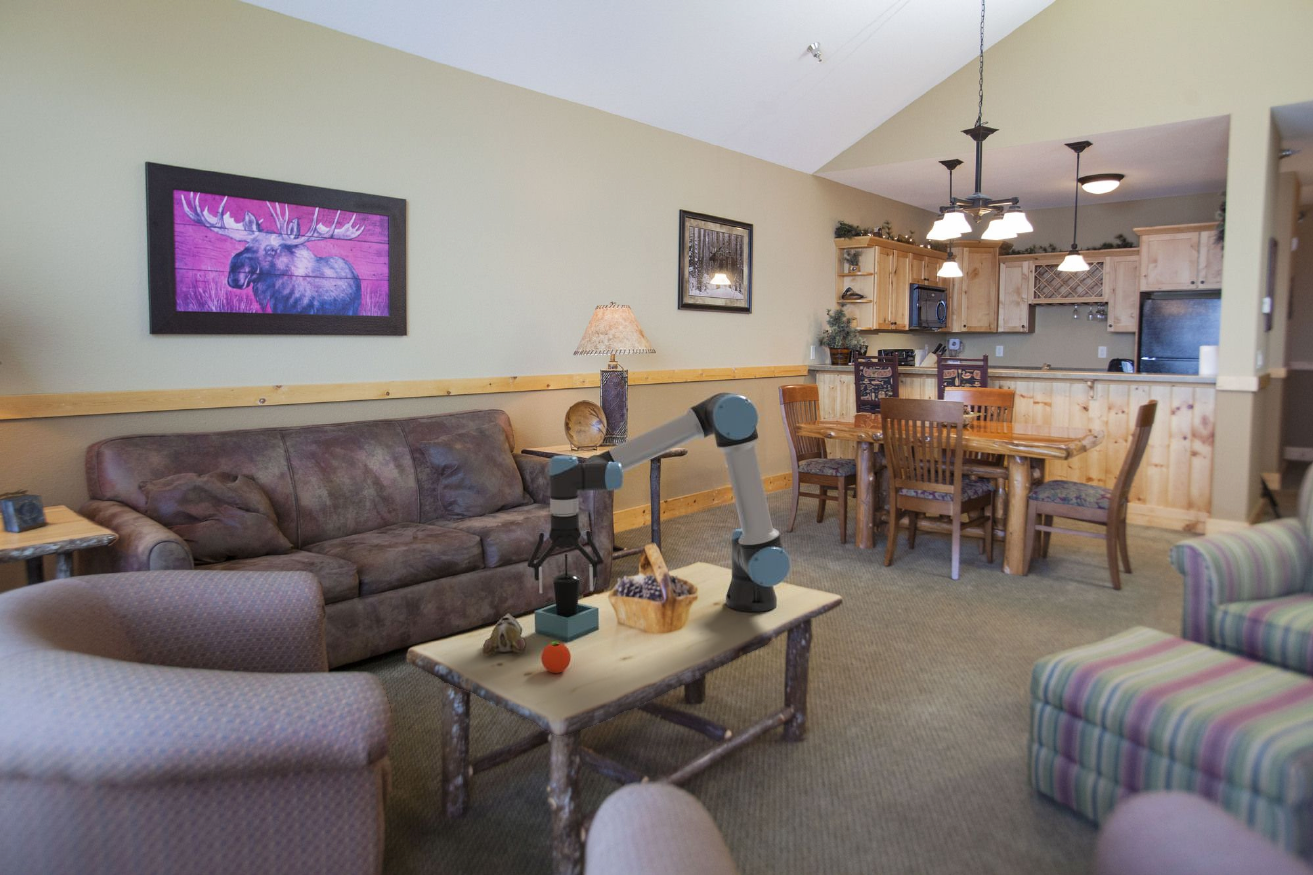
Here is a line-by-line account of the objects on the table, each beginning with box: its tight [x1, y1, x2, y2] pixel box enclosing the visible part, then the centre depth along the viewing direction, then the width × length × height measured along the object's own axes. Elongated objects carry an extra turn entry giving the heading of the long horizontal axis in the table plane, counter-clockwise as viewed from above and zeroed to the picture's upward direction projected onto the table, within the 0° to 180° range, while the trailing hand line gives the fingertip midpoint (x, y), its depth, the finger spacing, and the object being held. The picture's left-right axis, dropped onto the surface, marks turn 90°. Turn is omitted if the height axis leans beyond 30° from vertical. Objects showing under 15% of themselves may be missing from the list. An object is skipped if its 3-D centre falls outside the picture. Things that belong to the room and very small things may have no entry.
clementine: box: [540, 641, 572, 674], centre depth 191 cm, size 8×7×7 cm
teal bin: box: [534, 602, 600, 643], centre depth 219 cm, size 12×12×6 cm
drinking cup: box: [551, 553, 582, 618], centre depth 218 cm, size 8×8×20 cm
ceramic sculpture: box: [482, 612, 527, 655], centre depth 206 cm, size 11×9×15 cm
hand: (566, 590), depth 218 cm, fingers open, 13 cm apart
